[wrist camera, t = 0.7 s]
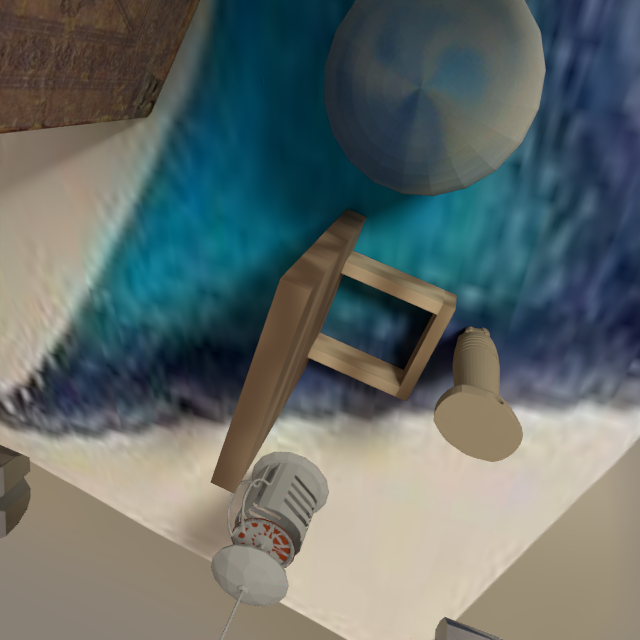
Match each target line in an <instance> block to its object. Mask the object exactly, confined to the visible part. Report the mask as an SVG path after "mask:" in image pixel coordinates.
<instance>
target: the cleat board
mask: <svg viewBox="0 0 640 640" xmlns="http://www.w3.org/2000/svg"><path fill="white" fill-rule="evenodd" d="M366 218H367V217H365V216H363V215H361V214H358V213H356V212H354V211H351V210H349V209H346V210H345V211H344V212H343V213H342V215H341V216H340V217H339V218H338V219H337V220H336V221H335V222H334V223H333V224H332V225H331V226H330V227H329V228H328V229H327V230H326V231H325V232H324V233H323V234H322V235H321V236H320V238H319V239H318V240H317V241H316V242H315V243H314V244H313V245H312V246H311V247H310V248H309V249H308V250H307V251H306V252H305V253H304V254H303V255H302V256H301V257H300V258H299V259H298V260H297V262H296V263H295V264H294V265H293V266H292V267H291V268H290V269H289V270H288V271H287V272H286V273H285V274H284V275H283V276H282V277H281V278H280V281H279V284H278V287H277V290H276V293H275V296H274V299H273V302H272V304H271V307H270V310H269V313H268V316H267V319H266V322H265V325H264V328H263V331H262V334H261V337H260V340H259V342H258V345H257V348H256V351H255V354H254V357H253V360H252V363H251V366H250V369H249V372H248V375H247V377H246V380H245V383H244V386H243V389H242V392H241V395H240V398H239V401H238V404H237V407H236V410H235V413H234V415H233V418H232V421H231V424H230V427H229V430H228V433H227V436H226V439H225V442H224V445H223V448H222V451H221V453H220V456H219V459H218V462H217V465H216V468H215V471H214V474H213V477H212V480H211V483H213V484H215V485H217V486H219V487H221V488H224V489H226V490H228V491H230V492H232V493H235V492H236V490H237V488H238V486H239V485H240V483H241V481H242V479H243V477H244V476H245V474H246V472H247V470H248V469H249V467H250V465H251V463H252V462H253V460H254V458H255V456H256V455H257V453H258V451H259V449H260V448H261V446H262V444H263V442H264V441H265V439H266V437H267V435H268V434H269V432H270V430H271V428H272V427H273V425H274V423H275V421H276V420H277V418H278V416H279V414H280V413H281V411H282V409H283V407H284V406H285V404H286V402H287V400H288V398H289V397H290V395H291V393H292V391H293V390H294V388H295V386H296V384H297V383H298V381H299V379H300V377H301V376H302V374H303V372H304V370H305V369H306V366H307V364H308V361H309V359H310V358H311V359H313V360H315V361H317V362H319V363H322V364H324V365H326V366H328V367H331V368H333V369H335V370H337V371H339V372H342V373H344V374H346V375H348V376H351V377H353V378H355V379H357V380H360V381H362V382H364V383H366V384H368V385H371V386H373V387H375V388H377V389H380V390H382V391H384V392H386V393H388V394H391V395H393V396H395V397H397V398H400V399H402V400H404V401H407V400H408V398H409V396H410V394H411V392H412V390H413V388H414V386H415V384H416V383H417V381H418V379H419V377H420V375H421V373H422V371H423V369H424V368H425V366H426V364H427V362H428V360H429V358H430V356H431V354H432V353H433V351H434V349H435V347H436V345H437V343H438V341H439V339H440V338H441V336H442V334H443V332H444V330H445V328H446V326H447V324H448V323H449V321H450V319H451V317H452V315H453V313H454V311H455V309H456V295H455V294H452V293H450V292H448V291H446V290H443V289H441V288H439V287H436V286H434V285H432V284H429V283H427V282H425V281H422V280H420V279H418V278H415V277H413V276H411V275H408V274H406V273H404V272H401V271H399V270H397V269H394V268H392V267H390V266H387V265H385V264H383V263H380V262H378V261H376V260H373V259H371V258H369V257H367V256H364V255H362V254H360V253H357V252H355V251H353V250H354V247H355V245H356V242H357V240H358V237H359V235H360V232H361V230H362V227H363V225H364V222H365V220H366ZM344 274H345V275H347V276H349V277H351V278H354V279H356V280H358V281H361V282H363V283H365V284H368V285H370V286H372V287H374V288H377V289H379V290H381V291H384V292H386V293H388V294H391V295H393V296H395V297H397V298H400V299H402V300H404V301H407V302H409V303H411V304H414V305H416V306H418V307H420V308H423V309H425V310H427V311H430V312H432V313H433V314H432V316H431V318H430V320H429V322H428V324H427V326H426V328H425V330H424V332H423V334H422V336H421V338H420V339H419V341H418V343H417V345H416V347H415V349H414V351H413V353H412V355H411V357H410V359H409V361H408V363H407V365H406V367H405V369H404V370H403V369H400V368H398V367H396V366H394V365H391V364H389V363H387V362H385V361H382V360H380V359H378V358H376V357H373V356H371V355H369V354H367V353H364V352H362V351H360V350H358V349H355V348H353V347H351V346H349V345H346V344H344V343H342V342H340V341H337V340H335V339H333V338H331V337H328V336H326V335H324V334H322V333H320V332H321V329H322V327H323V324H324V322H325V319H326V317H327V314H328V312H329V309H330V307H331V304H332V302H333V299H334V297H335V294H336V292H337V289H338V287H339V284H340V282H341V280H342V277H343V275H344Z"/></svg>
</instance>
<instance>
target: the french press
mask: <svg viewBox="0 0 640 640" xmlns="http://www.w3.org/2000/svg"><path fill="white" fill-rule="evenodd" d="M252 480H253V482H252V481H249V480H245V481H243V482H241V483H240V485H239V486H238V488H239V487H240V486H241V485H242V484H244V483H251V484H250V485H249V487H248V489H247V491H246V493H245V495H244V498H243V505H242V508H241V509H240V511H239V513H238V515H237V517H236V520H235V527H234V529H233V532H232V531H231V527H230V509H231V503H232V499H233V496H234V494H235V493H236V492H235V493H232V495H231V498H230V501H229V506H228V518H227V524H228V530H229V534H230V535H231V536H232V537H231V538H232V542H233V545H230V546H227V547H224V548H222V549H221V550H220V551H219V552H218V553H217V554H216V555H214V556H213V560H212V566H211V568H212V572H213V575H214V578H215V580H216V581H217V582H218V584H219V585H220V586H221V588H222V589H223V590H224V591H225V592H227V593H228V594H229V595H231V596H232V597H233V598H235V599H236V600H237V602H236V604H235V607H234V609H233V611H232V614H231V616H230V618H229V620H228V622H227V625H226V627H225V629H224V631H223V634H222V636H221V638H220V640H223V637H224V635H225V633H226V631H227V629H228V626H229V624H230V622H231V619H232V617H233V615H234V612H235V610H236V608H237V606H238V604H239V602H241V603H244V604H248V605H254V606H268V605H272V604H276V603H278V602H279V601H280V600H281V599H283V598H284V597H285V596H286V593H287V590H288V586H289V585H288V580H287V576H286V572H285V570H284V568H286V567H287V566H288V565H289V564H290V563H291V562H293V560H294V556H295V555H296V554H297V553H298V552H299V551H300V549H301V546H302V543H303V541H304V538H305V535H306V532H307V529H308V528H306V527H307V526H308V527H309V523H310V521H311V520H309V519H310V518H312V516H313V513H315V512H317V511H318V510H319V509H320V508H322V507H323V506H324V505H325V504H326V500H327V497H328V493H329V491H328V486H327V481H326V478H325V477H324V475H323V474H322V473H321V471H320V470H319V468H318V467H317V466H316V465H314V464H313V463H312V462H310V461H309V460H308V459H306V458H305V457H302V456H299V455H296V454H293V453H290V452H273V453H271V454H268V455H266V456H263V457H262V458H261V459H260V460H259V461H258V462H257V463H256V464H255V466H254V470H253V474H252ZM252 485H253V487H252V489H251V491H250V493H249V495H248V496H247V494H248V492H249V490H250V488H251V486H252ZM238 488H237V489H238ZM236 491H237V490H236ZM246 496H247V498H246ZM254 502H255V503H256V504H258V506H257V507H263V508H265V509H267V510H269V511H271V512H273V513H275V514H277V515H279V516H281V517H282V519H281V520H279V519H277V518H275V517H273V516H271V515H269V514H267V513H265V512H263V511H261V510H259V509H257V508H255V507H254V506H253V503H254ZM249 508H250V509H251V511H253V512H255V513H257V514H259V515H261V516H263V517H265V518H267V519H269V520H271V521H269V520H266V519H264V518H256V517H254V516H252V515H250V513H249V511H248V509H249ZM244 510H245V514H246V516H247V518H248V519H246V520H245V519H244ZM240 513H241V518H240V520H241V522H239V514H240ZM309 515H310V516H309ZM272 521H273V522H272ZM238 522H239V523H238ZM274 522H275V523H274ZM276 523H277V524H276ZM306 523H307V524H306ZM300 539H301V541H300Z"/></svg>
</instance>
